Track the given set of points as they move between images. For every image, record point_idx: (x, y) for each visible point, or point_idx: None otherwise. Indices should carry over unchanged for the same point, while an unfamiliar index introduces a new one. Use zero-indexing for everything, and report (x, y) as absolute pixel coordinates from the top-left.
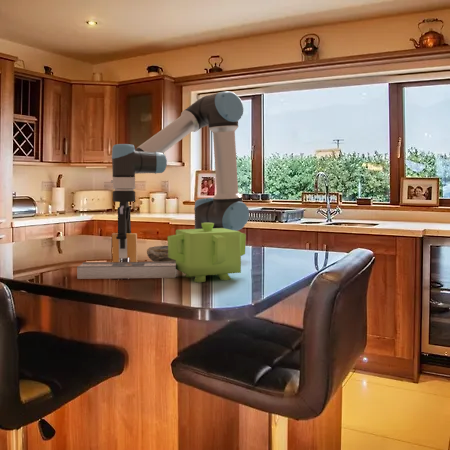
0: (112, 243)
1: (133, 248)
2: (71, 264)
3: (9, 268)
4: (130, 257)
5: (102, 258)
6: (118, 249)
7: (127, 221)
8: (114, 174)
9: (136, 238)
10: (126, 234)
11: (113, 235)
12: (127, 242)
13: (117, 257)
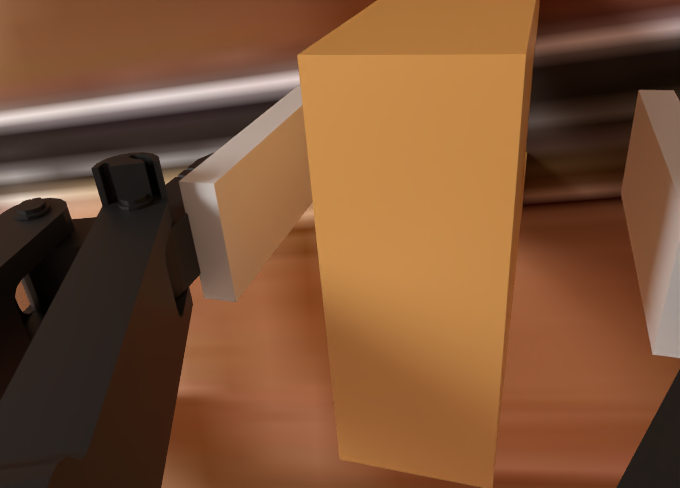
0: (504, 374)
1: (533, 39)
2: (283, 468)
3: None
4: (533, 56)
5: (23, 309)
6: (515, 254)
7: (112, 436)
8: None
9: (413, 29)
10: (506, 269)
11: (495, 456)
12: (520, 176)
13: (520, 216)
